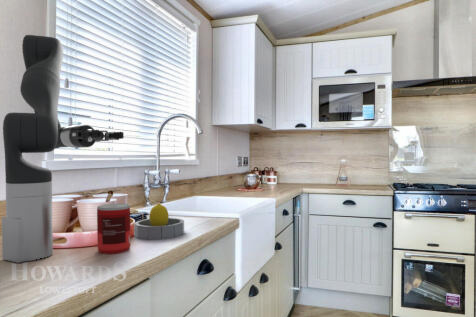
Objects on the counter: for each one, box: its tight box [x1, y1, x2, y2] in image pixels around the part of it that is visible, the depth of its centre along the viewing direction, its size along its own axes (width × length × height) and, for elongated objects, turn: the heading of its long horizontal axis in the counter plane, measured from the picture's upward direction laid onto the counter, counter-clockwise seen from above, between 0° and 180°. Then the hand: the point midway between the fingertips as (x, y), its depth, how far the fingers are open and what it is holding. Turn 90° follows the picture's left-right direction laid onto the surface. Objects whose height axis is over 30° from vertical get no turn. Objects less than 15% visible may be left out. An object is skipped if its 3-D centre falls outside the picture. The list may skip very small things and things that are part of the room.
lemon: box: [148, 203, 170, 226], centre depth 105 cm, size 6×6×8 cm
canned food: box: [96, 203, 131, 255], centre depth 87 cm, size 8×8×11 cm
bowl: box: [133, 217, 185, 240], centre depth 105 cm, size 14×14×4 cm
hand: (112, 134), depth 111 cm, fingers open, 8 cm apart
